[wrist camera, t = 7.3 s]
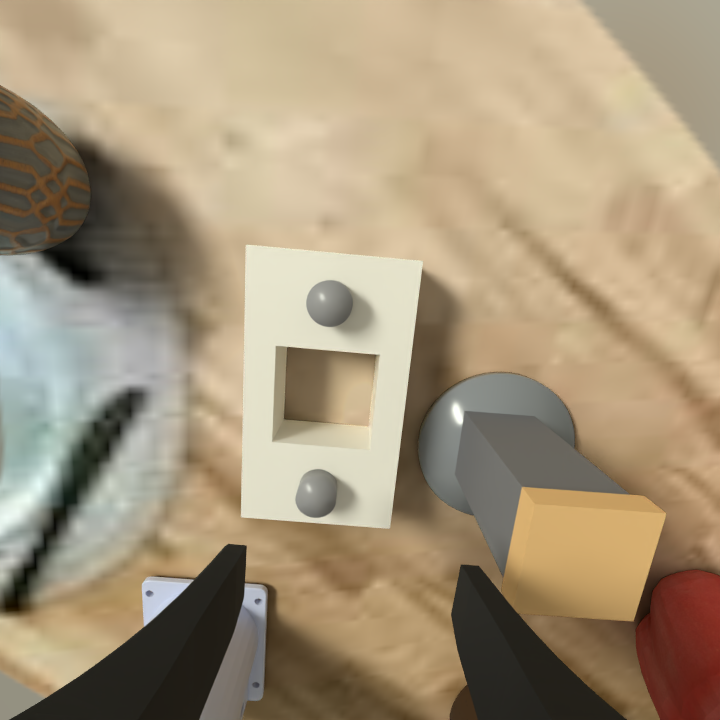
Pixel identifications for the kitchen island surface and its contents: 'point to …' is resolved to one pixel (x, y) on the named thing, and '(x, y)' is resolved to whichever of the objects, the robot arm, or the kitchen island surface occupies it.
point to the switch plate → (335, 333)
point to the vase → (37, 180)
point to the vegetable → (683, 646)
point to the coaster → (481, 396)
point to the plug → (555, 520)
